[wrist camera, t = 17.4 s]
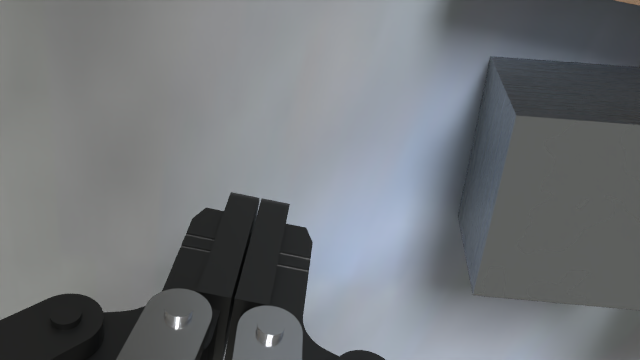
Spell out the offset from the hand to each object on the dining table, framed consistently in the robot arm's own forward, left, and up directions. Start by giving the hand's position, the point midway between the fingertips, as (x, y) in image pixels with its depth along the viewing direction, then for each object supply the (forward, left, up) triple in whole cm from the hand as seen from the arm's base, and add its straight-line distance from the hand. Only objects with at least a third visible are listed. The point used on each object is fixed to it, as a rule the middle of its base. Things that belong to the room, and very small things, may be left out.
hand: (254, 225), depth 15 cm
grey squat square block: (+11, 0, -9) cm, 14 cm away
